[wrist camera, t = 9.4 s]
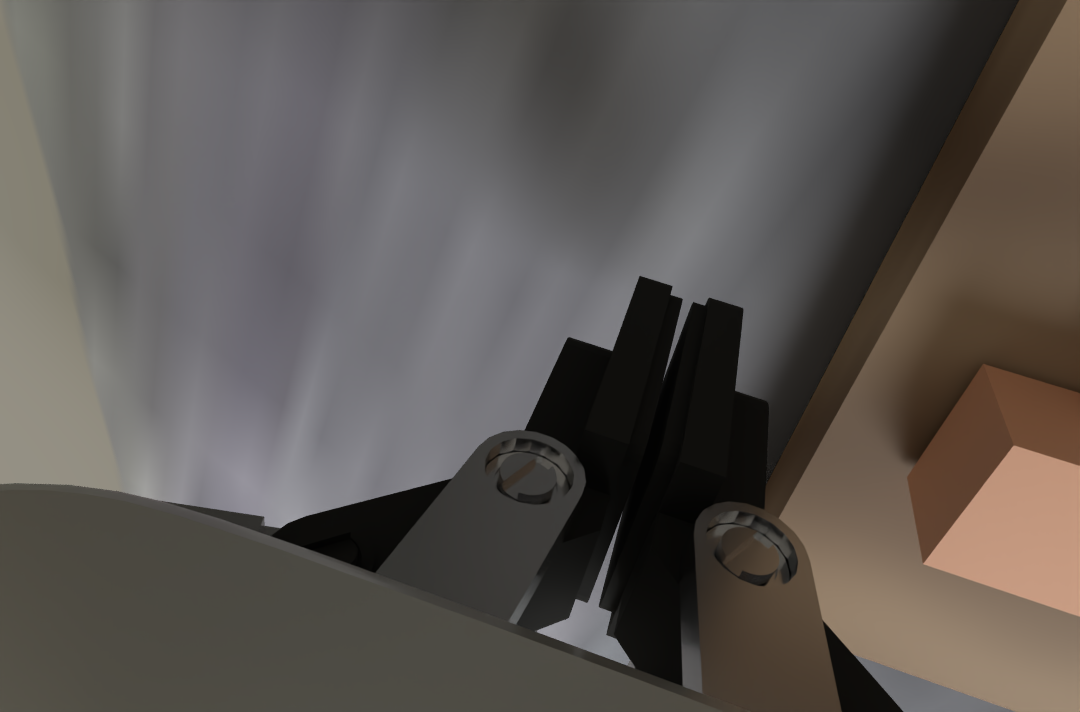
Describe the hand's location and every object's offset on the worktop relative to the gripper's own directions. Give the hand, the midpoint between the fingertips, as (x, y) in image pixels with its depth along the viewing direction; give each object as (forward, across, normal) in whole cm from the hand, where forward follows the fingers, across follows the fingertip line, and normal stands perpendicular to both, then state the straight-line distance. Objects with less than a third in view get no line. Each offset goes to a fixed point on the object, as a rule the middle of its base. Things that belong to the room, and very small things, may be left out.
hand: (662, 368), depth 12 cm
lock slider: (+1, -6, 0) cm, 6 cm away
